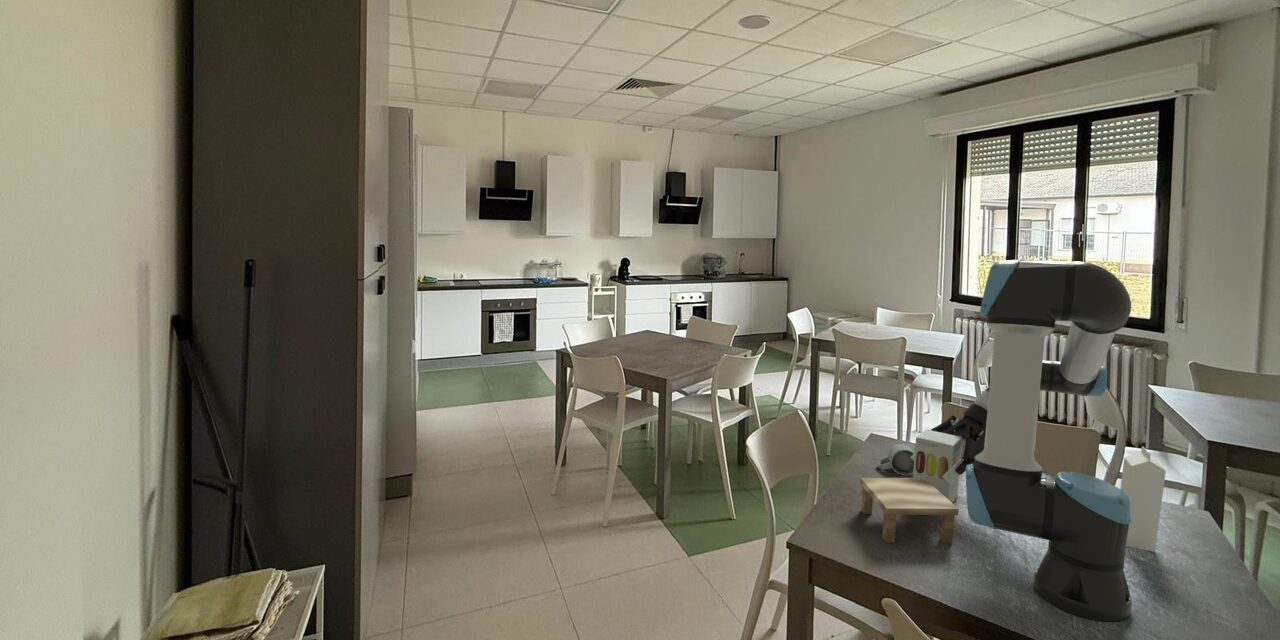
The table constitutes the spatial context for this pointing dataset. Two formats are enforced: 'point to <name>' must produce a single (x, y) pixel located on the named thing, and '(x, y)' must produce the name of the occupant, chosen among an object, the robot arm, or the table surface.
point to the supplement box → (937, 460)
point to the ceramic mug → (898, 460)
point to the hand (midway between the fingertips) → (929, 470)
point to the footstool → (907, 503)
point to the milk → (1143, 498)
